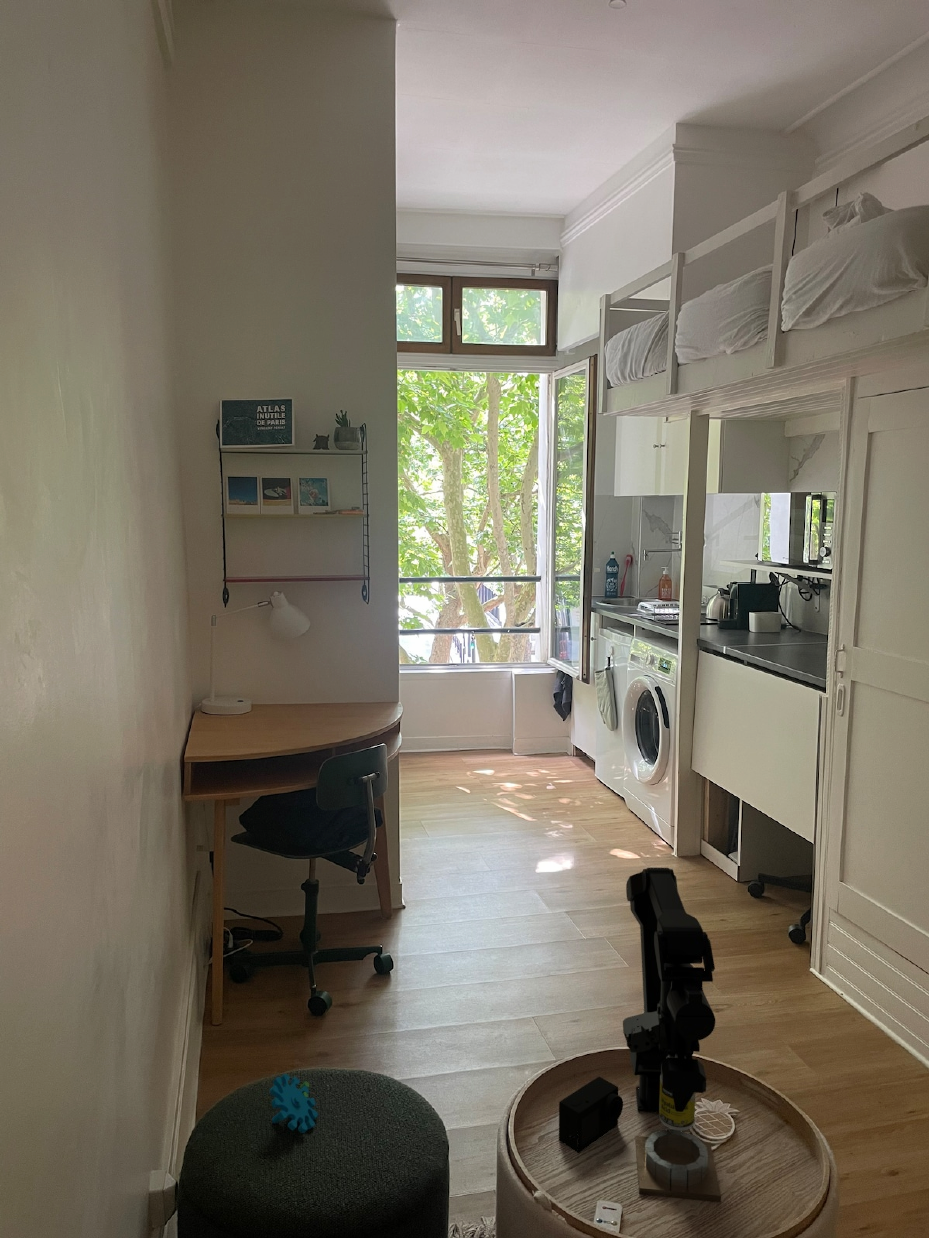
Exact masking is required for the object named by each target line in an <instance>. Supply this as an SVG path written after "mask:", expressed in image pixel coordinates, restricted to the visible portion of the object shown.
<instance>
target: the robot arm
mask: <svg viewBox="0 0 929 1238" xmlns="http://www.w3.org/2000/svg"><path fill="white" fill-rule="evenodd" d="M625 892H626V900H627V902H629V904H630V907H629V909H630V911H631V913H632V915H633V917H634V918H635V920H636V922H637V923H638V925H639V929H640V930H639V931H640V932H639V933H640V950H641V951H640V952H641V954H640V955H641V971H642V972H641V973H642V991H643V993H642V994H643V1013H640V1014H635V1015H632V1016H628V1017H626V1018H624V1019H623V1020H622V1029H623V1030H622V1033H623V1035H624V1038H625V1041H626V1047H627V1048H628V1049H629V1060H630V1064H631V1068H632V1072H633V1075H634V1076H638V1078H639V1079H638V1082H639V1084H638V1086H636V1087H635V1095H636V1107H637V1108H636V1109H637V1111H638V1112H646V1113H656V1114H657V1113H658V1114H659V1101H660V1076H661V1079H662V1087H663V1088H664V1089H666V1090H671V1091H672V1094H673V1099H674V1105H675V1110H676V1111H677V1112H683V1111H684V1109H685V1107H686V1106H687V1104H688V1102H689V1100H690V1099H691V1097H692V1096H693V1094H694V1092H695V1094H696V1093H697V1094H704V1093H705V1092H706V1091H707V1077H706V1072H705V1067H704V1065H703V1063H701V1062H700V1061H699V1060H698V1059H696V1058H693V1055H694V1052H699V1053H700V1050H701V1049H700V1047H701V1046H700V1042H699V1041H702V1040H704V1039H706V1038H708V1037H709V1036H710V1035H712V1033H713V1032H714V1030H715V1027H716V1016H715V1014H714V1012H713V1009H712V1007H711V1005H710V1002H709V1001H708V999H707V997H706V994H705V992H704V990H703V983H705V982H706V983H713V981H714V978H713V977H714V976H713V972H714V971H715V969H716V967H715V961H714V955H713V950H712V949H713V948H712V944H711V943H712V942H711V940H710V939H709V937H708V933H707V932H706V931H704V929H703V927H702V925H701V923H700V921H699V920H698V919H697V918H696V917H695V916H693V915H691V914H689V913H687V911H686V910H685V907H684V904H683V901H682V900H681V896H680V894H679V889H678V881H677V876H676V874H675V873H674V870H673V868H670V867H646V868H643V869H642V871H640V872H637V873H634V874H631V875H630V876H629V877H628V878H627V880H626V885H625ZM702 963H703V967H701V966H700V967H699V966H698V967H697V966H696V967H695V966H693V964H694V965H695V964H697V965H699V964H700V965H701V964H702ZM675 1054H676V1058H673V1057H675ZM668 1056H669V1057H668ZM666 1057H667V1058H666ZM638 1088H639V1089H638Z"/></svg>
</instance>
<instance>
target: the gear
mask: <svg viewBox="0 0 929 1238" xmlns="http://www.w3.org/2000/svg"><path fill="white" fill-rule="evenodd" d="M290 1078H291V1077H290V1074H286V1073H283V1074H282V1075H281V1076H278V1077H276V1078H274V1080H272V1083H273V1086H271V1088H270V1089H269V1094H270V1095H272V1096H274V1098H273V1099H272V1100H271V1107H272V1108H273V1109H276V1108H279V1109H281V1110H280V1111H279V1112H278V1113H277V1114H275V1115H274V1116H273V1117H272V1119H271V1122H272V1123H273V1124H277V1123H278V1122H279V1121H280V1122H283V1121H284V1120H285V1119H287V1118H290V1119H291V1120H290V1121H289V1122H288V1123H287V1127H288V1129H289V1130H291V1131H295V1129H296V1128H297V1127H298V1132H299V1133H301V1134H305V1133H306V1132H308V1130H311V1129H312V1128H314V1126H316V1123H315V1121H314V1120H316V1118H317V1117H318V1115H319V1114H318V1112H317V1110H315V1109H313V1108H314V1107H315V1106H316V1101H315V1098H313V1097H311V1098H310V1097H309V1093H310V1090H309V1087H310V1083H309V1082H308V1081H307V1080H305V1081H304V1082H303V1083H302V1084H301V1085H300V1086H299V1084H300V1083H301V1082H300V1079H299V1078H298V1077H297V1076H294V1077H293V1078H292V1079H291V1080H290ZM289 1080H290V1084H289ZM297 1086H299V1088H297ZM298 1122H299V1126H298Z"/></svg>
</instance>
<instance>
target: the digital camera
mask: <svg viewBox="0 0 929 1238" xmlns="http://www.w3.org/2000/svg"><path fill="white" fill-rule="evenodd" d="M623 1109H624V1100H623V1098H622V1096H620V1095H619V1086H618V1085H615V1084H614V1083H611V1082H610V1081H608V1080H606V1079H605V1078H603V1077H601V1076H597V1077H595V1079H592V1080H590V1081H589V1082H588V1083H586V1084H584V1085H583V1086H581V1087H580V1088H578V1089H577V1090H575V1091H574V1092H572V1093H571V1094H569V1095H567V1096H566V1097H565V1098H563V1099H562V1100H560V1101H559V1102H558V1141H559V1142H560V1143H562V1144H563V1145H565V1146H567V1147H568V1148H569V1149H571V1151H574V1152H575V1153H577V1154H580V1153H581V1152H582V1151H584V1150H586V1149H587V1148H589V1147H590V1146H591V1145H592V1144H594V1143H596V1141H598V1140H600V1139H602V1137H604V1136H605V1135H607V1134H608V1133H609V1132H611V1131H612V1130H613V1129H615V1128H616V1127H617V1126H618V1125H619V1119H620V1116H621V1114H622V1113H623Z"/></svg>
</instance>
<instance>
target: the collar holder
mask: <svg viewBox="0 0 929 1238" xmlns="http://www.w3.org/2000/svg"><path fill="white" fill-rule="evenodd" d="M634 1139H635V1141H634V1143H635V1155H636V1167H637V1168H636V1169H637V1171H636V1172H637V1182H638V1184H637V1185H638V1194H639V1195H645V1196H655V1197H663V1198H664V1197H666V1198H675V1199H686V1200H695V1201H704V1202H705V1201H707V1202H715V1203H722V1195H721V1189H720V1184H719V1179H718V1173H717V1170H716V1169H717V1168H716V1163H715V1157H714V1154H713V1148H712V1143H711V1142H709V1141H701V1140H700V1139H699V1138H698V1137H697V1136H696V1135H693V1134H690V1133H688V1132H686V1131H685V1130H682V1131H679V1130H673V1129H670V1128H668V1129H662V1130H658V1131H654V1132H653V1133H652V1132H651V1134H650V1135H649V1136H643V1135H641V1136H640V1135H635V1138H634Z"/></svg>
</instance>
